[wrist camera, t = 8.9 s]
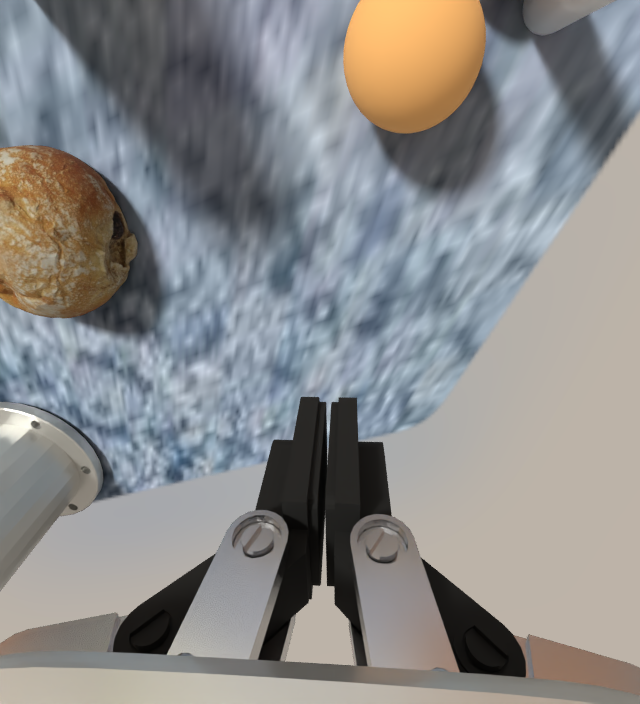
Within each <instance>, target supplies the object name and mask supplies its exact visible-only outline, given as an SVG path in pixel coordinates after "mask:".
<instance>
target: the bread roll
mask: <svg viewBox="0 0 640 704" xmlns="http://www.w3.org/2000/svg"><path fill="white" fill-rule="evenodd" d="M137 246H138V243H137V241H136V238H135V235H134V234H133V233H130V231H129V230H128V227H127V223H126V221H125V218H124V216H123V214H122V211H121V209H120V207H119V206H118V204H117V203H116V201H115V198H114V196H113V195H112V193H111V192H110V190H109V188H108V187H107V185H106V182H105V181H104V180H103V178H102V177H101V176H100V175H99V174H98V173H97V172H96V171H95V170H93V169H92V168H91V167H90V166H88V165H87V164H85V163H84V162H83V161H81V160H80V159H78V158H76V157H74V156H73V155H71V154H69V153H67V152H64V151H61V150H58V149H54V148H51V147H47V146H33V145H25V146H15V147H8V148H0V298H1V299H3V301H5V302H7V303H8V304H10V305H12V306H14V307H16V308H19V309H21V310H24V311H26V312H29V313H32V314H35V315H39V316H45V317H50V318H72V317H76V316H81V315H84V314H86V313H88V312H91V311H93V310H95V309H97V308H98V307H100V306H101V305H103V304H104V303H106V302H107V301H108V300H109V299H110V298H111V297H112V296H113V294H114V293H115V292H116V291H117V290H118V289H119V288H120V286H121V285H122V284H123V283H124V282H125V281H126V279H127V276H128V271H129V269H130V266H129V262H130V261H131V260H133V259H134V258H135V257H136V256H137Z"/></svg>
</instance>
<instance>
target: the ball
mask: <svg viewBox="0 0 640 704" xmlns="http://www.w3.org/2000/svg"><path fill="white" fill-rule="evenodd" d="M485 42H486V28H485V20H484V15H483V11H482V7H481V4H480V1H479V0H360V2H359V4H358V5H357V7H356V9H355V11H354V13H353V15H352V18H351V21H350V24H349V26H348V30H347V34H346V38H345V45H344V60H343V62H344V73H345V78H346V83H347V86H348V89H349V92H350V95H351V97H352V99H353V101H354V103H355V104H356V106H357V107H358V109H359V110H360V112H361V113H362V114H363V115H364V116H365V117H366V118H367V119H368V120H369V121H370V122H372V123H373V124H375V125H376V126H378V127H380V128H382V129H384V130H387V131H391V132H395V133H415V132H420V131H423V130H426V129H429V128H431V127H433V126H435V125H437V124H439V123H440V122H442V121H443V120H445V119H446V118H447V117H449V116H450V115H451V114H452V113H453V112H454V111H455V110H456V109H457V108H458V107H459V106H460V105H461V104H462V102H463V101H464V100H465V98H466V97H467V95H468V94H469V92H470V90H471V89H472V87H473V85H474V83H475V81H476V78H477V76H478V74H479V71H480V68H481V65H482V61H483V56H484V51H485Z"/></svg>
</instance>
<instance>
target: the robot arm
mask: <svg viewBox="0 0 640 704" xmlns="http://www.w3.org/2000/svg"><path fill="white" fill-rule="evenodd" d="M328 451H329V452H328V466H327V420H326V402H320V401H319V397H301V399H300V405H299V410H298V415H297V421H296V426H295V432H294V437H293V440H274V441H273V443H272V446H271V450H270V454H269V458H268V462H267V466H266V471H265V475H264V478H263V482H262V486H261V490H260V494H259V498H258V502H257V506H256V510H255V511H252V512H248V513H246V514H244V515H242V516H240V517H239V518H237V519H236V520H235V521H234V522H233V523H232V524H231V526H230V527H229V529H228V530H227V532H226V534H225V536H224V538H223V540H222V542H221V544H220V546H219V549H218V550H217V553H216V554H214V555H213V556H211V557H210V558H208V559H207V560H205V561H204V562H202V563H201V564H199V565H198V566H197V567H195V568H194V569H192V570H191V571H189V572H188V573H186V574H185V575H183V576H182V577H181V578H179V579H177V580H176V581H174V582H173V583H172V584H170V585H169V586H167V587H166V588H164V589H163V590H161V591H160V592H158V593H157V594H155V595H154V596H153V597H151V598H149V599H148V600H147V601H145V602H144V603H142V604H141V605H139V606H138V607H137V608H136V609H134V610H133V611H132V612H131V613H130V614H129V615H127V616H122V617H119V616H118V614H117V613H112V614H106V615H101V616H96V617H90V618H85V619H80V620H75V621H69V622H64V623H59V624H53V625H48V626H43V627H38V628H32V629H27V630H25V631H22V632H19V633H16V634H14V635H12V636H11V637H9V638H8V639H6V640H5V641H3V642H1V643H0V704H640V668H639V667H637V666H635V665H632V664H630V663H627V662H623V661H620V660H616V659H612V658H609V657H606V656H602V655H598V654H595V653H592V652H588V651H585V650H581V649H578V648H574V647H571V646H567V645H564V644H560V643H557V642H553V641H550V640H546V639H543V638H539V637H536V636H532V635H528V637H527V639H525V638H521V637H518V636H514V635H513V634H512V633H511V632H510V631H509V630H508V629H507V628H506V627H505V626H504V625H503V624H502V623H501V622H499V621H498V620H497V619H496V618H495V617H493V616H492V615H491V614H490V613H488V612H487V611H486V610H485V609H484V608H482V607H481V606H480V605H479V604H477V603H476V602H475V601H474V600H472V599H471V598H470V597H469V596H468V595H466V594H465V593H464V592H463V591H461V590H460V589H459V588H458V587H456V586H455V585H454V584H453V583H451V582H450V581H449V580H448V579H447V578H445V577H444V576H443V575H442V574H441V573H439V572H438V571H437V570H436V569H434V568H433V567H432V566H431V565H429V564H428V563H427V562H426V561H425V560H423V559H422V558H421V557H420V554H419V551H418V548H417V545H416V542H415V539H414V536H413V535H412V533H411V531H410V529H409V528H408V527H407V526H406V525H405V524H404V523H403V522H402V521H400V520H398V519H397V518H395V517H392V515H391V507H390V498H389V490H388V481H387V472H386V464H385V455H384V447H383V443H382V442H358V422H357V398H339V402H332V404H331V419H330V435H329V450H328ZM102 484H103V470H102V467H101V464H100V460H99V459H98V457H97V455H96V453H95V451H94V450H93V448H92V447H91V446H90V444H89V443H88V442H87V441H86V439H85V438H84V437H82V436H81V435H80V434H79V433H78V432H77V431H76V430H75V429H74V428H72V427H71V426H70V425H68V424H67V423H65V422H64V421H63V420H61V419H59V418H57V417H55V416H54V415H52V414H50V413H48V412H45V411H43V410H40V409H38V408H35V407H31V406H27V405H24V404H20V403H11V402H0V591H1V590H2V589H3V587H4V586H5V585H6V583H7V582H8V581H9V580H10V578H11V577H12V576H13V574H14V573H15V572H16V571H17V569H18V568H19V567H20V566H21V564H22V563H23V561H24V560H25V559H26V558H27V557H28V555H29V554H30V553H31V552H32V550H33V549H34V548H35V546H36V545H37V544H38V543H39V541H40V540H41V539H42V538H43V536H44V535H45V533H46V532H47V531H48V530H49V529H50V527H51V526H52V525H53V523H54V522H55V521H56V520H57V518H58V517H59V516H65V515H71V514H75V513H77V512H80V511H82V510H84V509H85V508H87V507H88V506H90V504H91V503H92V502H93V501H94V499H95V498H96V497H97V495H98V494H99V492H100V490H101V488H102ZM325 517H326V556H327V557H326V559H327V586H335V605H336V606H337V607H338V608H339V609H340V610H341V612H343V614H344V615H345V616H346V617H347V618H348V619H349V631H350V638H351V645H352V652H353V659H354V666H351V665H334V664H317V663H301V662H285V660H286V656H287V652H288V647H289V644H290V640H291V636H292V632H293V628H294V624H295V615H296V613H297V612H298V611H300V610H301V609H302V608H303V607H304V606H305V605H306V604H307V603H308V601H309V599H312V588H313V585H318V586H320V584H321V572H322V555H323V539H324V522H325Z"/></svg>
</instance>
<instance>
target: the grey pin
mask: <svg viewBox="0 0 640 704" xmlns="http://www.w3.org/2000/svg"><path fill="white" fill-rule="evenodd" d="M614 1H616V0H524V3H523V19H524V22H525V25H526V26H527V28H528V29H529V30H530V31H531V32H532V33H534V34H536V35H542V36H544V35H549V34H552V33H555V32H556V31H558V30H560V29H562V28H564V27H566V26H568V25H570V24H572V23H574V22H576V21H578V20H579V19H581V18H583V17H585V16H587V15H589V14H591V13H593V12H595V11H597V10H599V9H600V8H602V7H604V6H606V5H608V4H610V3H612V2H614Z"/></svg>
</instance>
